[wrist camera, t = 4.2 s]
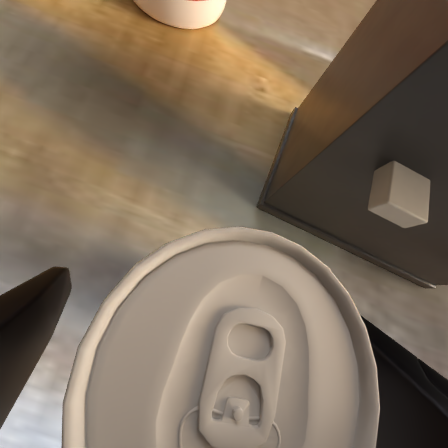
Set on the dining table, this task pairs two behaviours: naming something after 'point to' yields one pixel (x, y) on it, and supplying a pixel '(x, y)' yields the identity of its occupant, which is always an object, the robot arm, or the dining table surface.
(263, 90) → the dining table surface
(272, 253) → the beverage can
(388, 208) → the toaster
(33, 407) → the dining table surface
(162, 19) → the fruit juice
